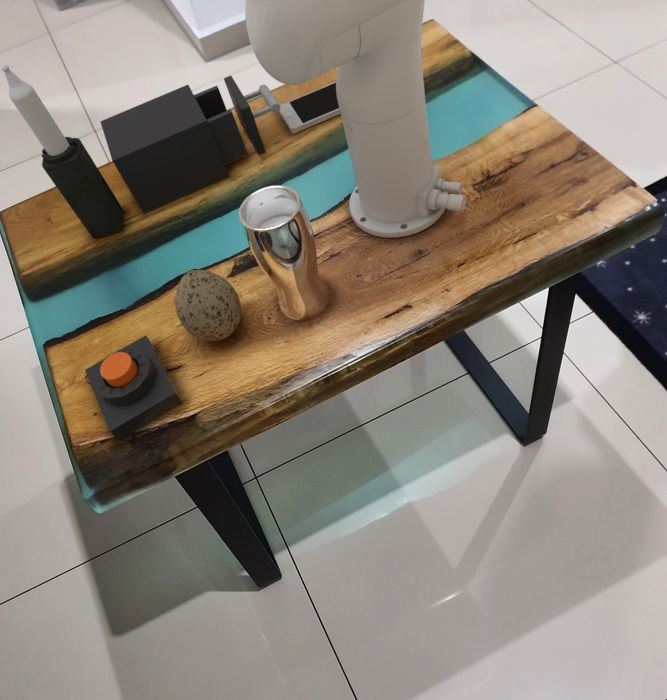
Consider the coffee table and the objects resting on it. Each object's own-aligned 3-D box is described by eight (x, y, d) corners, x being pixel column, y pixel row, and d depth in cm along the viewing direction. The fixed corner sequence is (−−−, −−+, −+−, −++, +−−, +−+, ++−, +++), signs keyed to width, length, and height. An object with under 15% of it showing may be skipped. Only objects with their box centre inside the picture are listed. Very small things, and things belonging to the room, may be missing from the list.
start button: (142, 376, 71) (135, 367, 70) (113, 393, 70) (105, 385, 69) (132, 355, 73) (125, 346, 72) (103, 371, 73) (95, 363, 71)
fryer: (211, 139, 101) (188, 84, 93) (230, 176, 94) (206, 120, 87) (130, 174, 100) (100, 121, 92) (143, 214, 93) (112, 160, 86)
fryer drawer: (272, 110, 100) (258, 63, 94) (293, 141, 95) (278, 93, 89) (172, 152, 99) (151, 108, 93) (187, 186, 94) (165, 142, 87)
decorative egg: (237, 297, 80) (208, 240, 72) (259, 334, 76) (231, 278, 68) (185, 325, 79) (150, 270, 71) (205, 364, 75) (170, 311, 67)
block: (183, 402, 72) (168, 383, 69) (119, 440, 71) (101, 423, 68) (153, 345, 78) (139, 325, 75) (93, 379, 77) (76, 361, 74)
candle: (92, 218, 95) (-16, 60, 76) (124, 207, 95) (25, 47, 75) (91, 241, 92) (-21, 83, 72) (125, 230, 92) (22, 69, 72)
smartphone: (278, 111, 101) (276, 105, 101) (367, 73, 102) (366, 67, 101) (292, 134, 97) (290, 129, 96) (386, 95, 98) (385, 89, 97)
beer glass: (309, 332, 74) (272, 240, 63) (265, 310, 78) (222, 218, 66) (344, 290, 77) (316, 194, 65) (300, 271, 80) (265, 176, 68)
